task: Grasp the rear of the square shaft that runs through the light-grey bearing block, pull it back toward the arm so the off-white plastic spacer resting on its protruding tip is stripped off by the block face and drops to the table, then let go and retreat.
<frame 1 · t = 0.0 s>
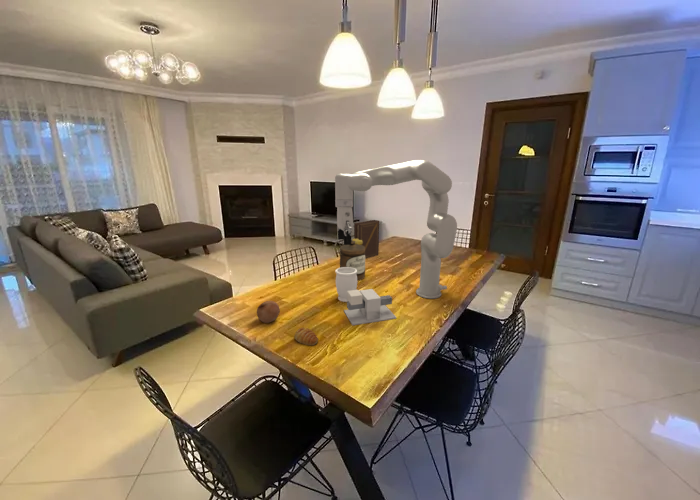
hand: (344, 241, 136), 31 cm above the table, fingers open, 9 cm apart
shaft: (369, 302, 134), point 6 cm above the table, slide at 0.0 cm, touching spacer
book: (365, 257, 218), on the table
wooden container: (352, 276, 181), on the table
jar: (346, 299, 152), on the table
bearing block: (369, 314, 136), on the table
pastry: (306, 340, 117), on the table
onion: (269, 321, 131), on the table
spacer: (354, 301, 132), point 7 cm above the table, touching shaft
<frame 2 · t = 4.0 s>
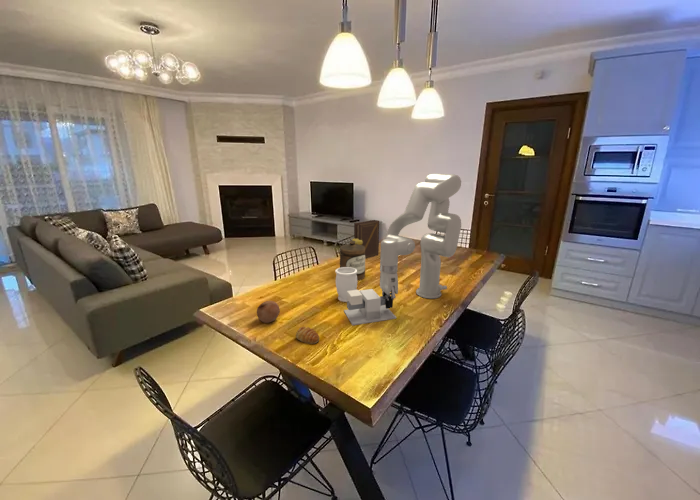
hand: (387, 305, 137), 3 cm above the table, fingers closed on shaft, 3 cm apart
shaft: (369, 302, 134), point 6 cm above the table, slide at 0.0 cm, touching gripper, spacer
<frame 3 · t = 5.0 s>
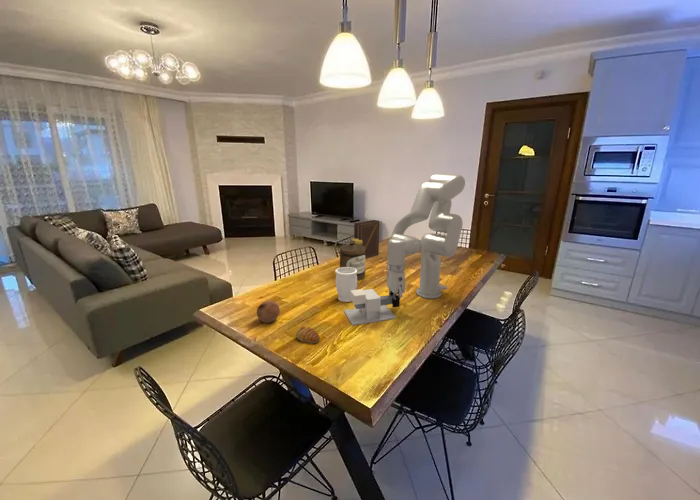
hand: (394, 304, 138), 3 cm above the table, fingers closed on shaft, 3 cm apart
shaft: (376, 301, 135), point 6 cm above the table, slide at 3.3 cm, touching gripper
spacer: (357, 301, 132), point 8 cm above the table
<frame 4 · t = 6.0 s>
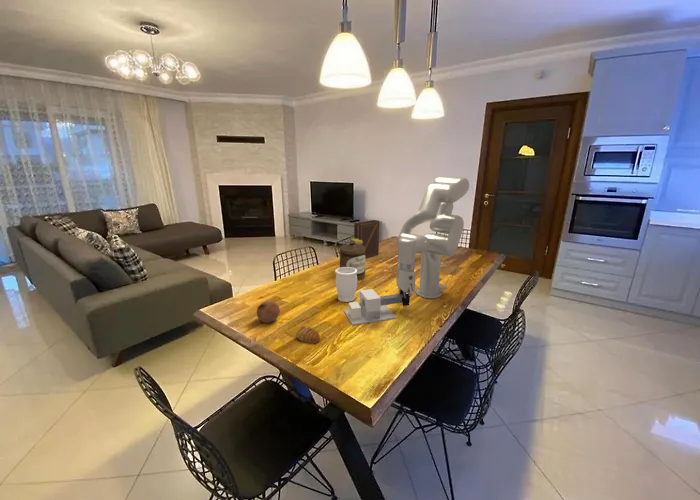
hand: (403, 303, 140), 3 cm above the table, fingers closed on shaft, 3 cm apart
shaft: (386, 300, 136), point 6 cm above the table, slide at 8.2 cm, touching gripper
spacer: (359, 309, 134), point 3 cm above the table, tilted 90°, touching bearing block
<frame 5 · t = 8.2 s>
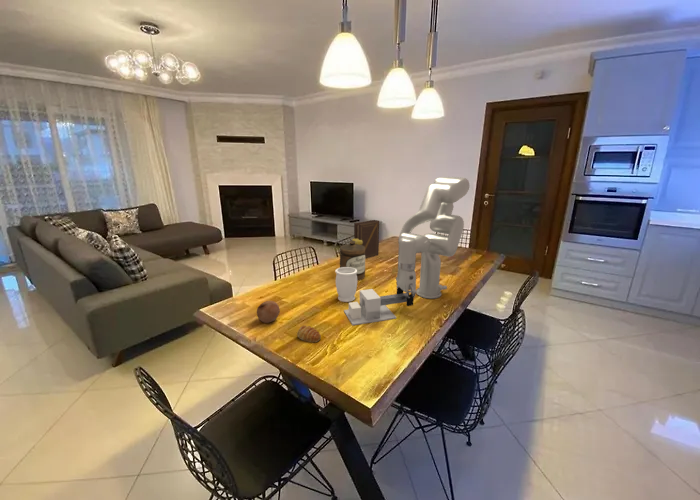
hand: (404, 300, 139), 4 cm above the table, fingers open, 9 cm apart
shaft: (387, 300, 136), point 6 cm above the table, slide at 8.5 cm
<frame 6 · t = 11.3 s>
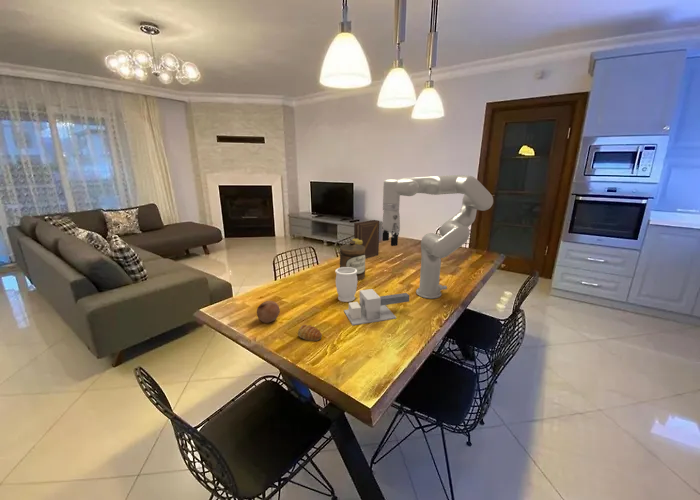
hand: (389, 243, 145), 28 cm above the table, fingers open, 9 cm apart
at the end: shaft slide at 8.5 cm; spacer inside the target area (3.9 cm from its centre), point 3.1 cm above the table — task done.
